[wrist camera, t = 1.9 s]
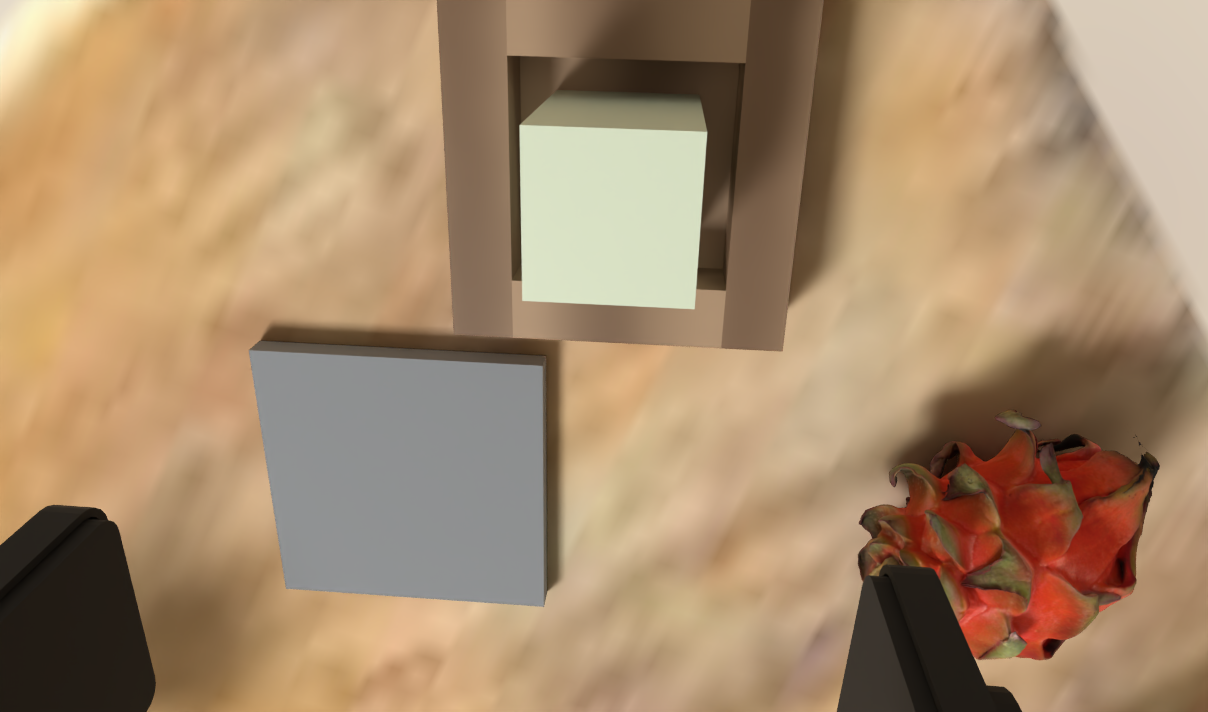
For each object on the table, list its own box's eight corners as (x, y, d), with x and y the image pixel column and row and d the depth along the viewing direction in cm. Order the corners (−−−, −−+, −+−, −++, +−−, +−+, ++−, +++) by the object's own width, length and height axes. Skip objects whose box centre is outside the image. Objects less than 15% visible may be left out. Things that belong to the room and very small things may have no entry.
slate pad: (546, 355, 35) (542, 366, 34) (546, 592, 40) (543, 606, 39) (259, 340, 36) (248, 350, 35) (294, 574, 41) (286, 588, 40)
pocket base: (810, -12, 29) (824, -11, 26) (773, 321, 34) (782, 351, 31) (458, -22, 29) (435, -22, 27) (471, 306, 34) (453, 334, 32)
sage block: (699, 94, 30) (707, 132, 23) (690, 233, 32) (694, 309, 25) (557, 89, 30) (519, 125, 23) (556, 228, 32) (522, 301, 25)
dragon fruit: (811, 521, 39) (1052, 385, 37) (919, 700, 36) (1183, 562, 35) (799, 516, 31) (1105, 343, 29) (936, 745, 28) (1281, 568, 27)
